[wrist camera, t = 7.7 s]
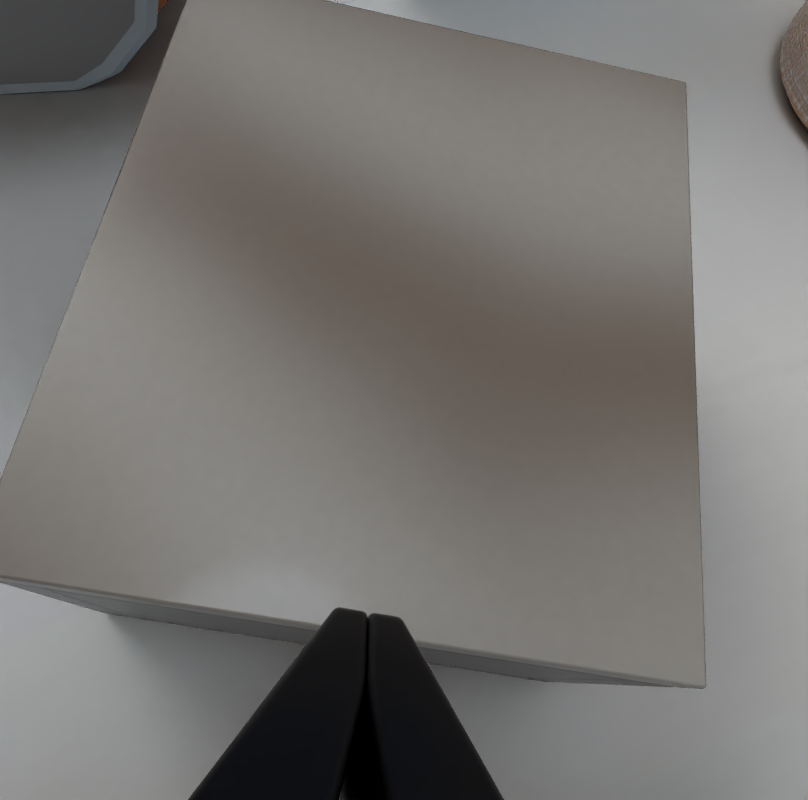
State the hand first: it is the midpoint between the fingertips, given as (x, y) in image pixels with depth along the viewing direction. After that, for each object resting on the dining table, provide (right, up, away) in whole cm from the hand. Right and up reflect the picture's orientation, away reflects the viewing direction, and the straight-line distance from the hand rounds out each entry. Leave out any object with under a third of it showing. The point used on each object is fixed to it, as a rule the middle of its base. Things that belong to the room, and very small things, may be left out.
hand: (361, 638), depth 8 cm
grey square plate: (+1, +5, +5) cm, 7 cm away
